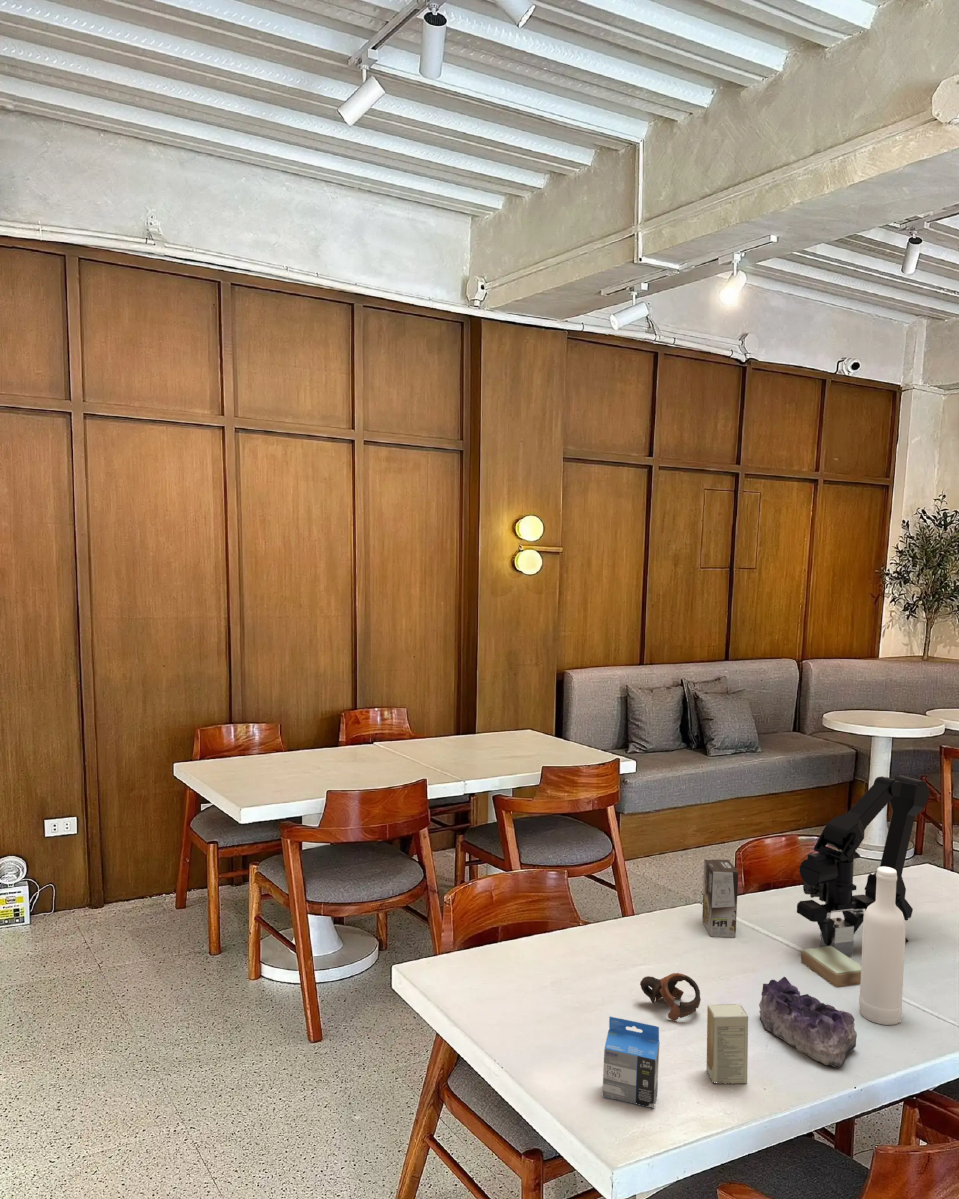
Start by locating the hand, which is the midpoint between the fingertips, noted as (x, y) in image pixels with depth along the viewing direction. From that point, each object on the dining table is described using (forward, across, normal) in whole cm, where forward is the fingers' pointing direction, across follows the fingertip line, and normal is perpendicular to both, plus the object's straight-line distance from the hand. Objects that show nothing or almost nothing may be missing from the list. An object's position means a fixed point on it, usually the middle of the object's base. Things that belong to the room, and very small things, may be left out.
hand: (836, 943), depth 206 cm
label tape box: (+2, +71, +38) cm, 81 cm away
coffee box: (+2, +20, -18) cm, 27 cm away
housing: (+2, 0, 0) cm, 2 cm away
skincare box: (+2, +52, +37) cm, 64 cm away
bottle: (+2, +10, +26) cm, 28 cm away
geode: (+3, +31, +30) cm, 43 cm away
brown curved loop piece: (+2, +50, +13) cm, 52 cm away
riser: (+2, +7, +8) cm, 11 cm away
